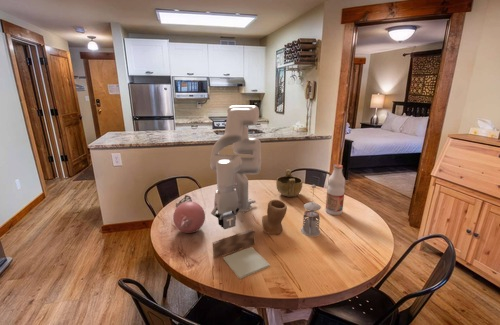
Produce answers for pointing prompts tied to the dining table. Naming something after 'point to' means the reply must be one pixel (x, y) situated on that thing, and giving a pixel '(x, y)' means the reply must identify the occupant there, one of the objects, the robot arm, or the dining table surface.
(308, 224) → the french press
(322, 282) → the dining table surface
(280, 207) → the stone cup
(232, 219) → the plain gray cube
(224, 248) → the walnut screen
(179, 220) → the balloon
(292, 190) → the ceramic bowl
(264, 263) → the display mat
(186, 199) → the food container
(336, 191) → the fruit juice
